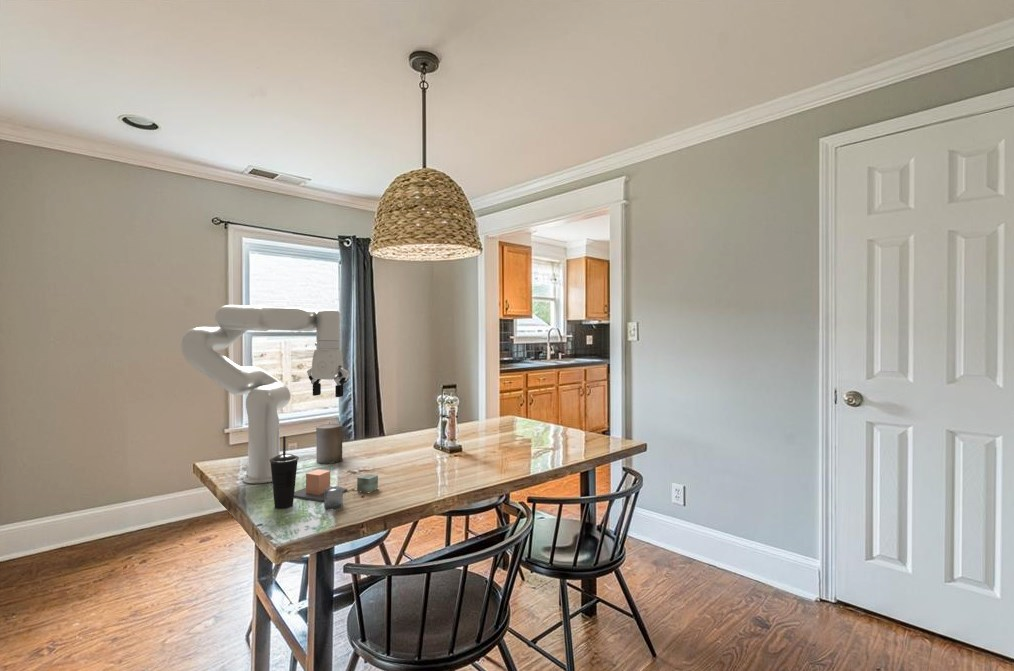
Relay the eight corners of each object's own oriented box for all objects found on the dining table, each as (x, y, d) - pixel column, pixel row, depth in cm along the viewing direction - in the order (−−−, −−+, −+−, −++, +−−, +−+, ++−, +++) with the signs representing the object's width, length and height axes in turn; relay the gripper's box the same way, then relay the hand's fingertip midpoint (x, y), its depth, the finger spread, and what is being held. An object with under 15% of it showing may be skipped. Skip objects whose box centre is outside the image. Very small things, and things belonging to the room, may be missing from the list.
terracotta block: (305, 492, 149) (305, 473, 149) (317, 488, 153) (317, 469, 153) (318, 495, 147) (318, 475, 147) (330, 490, 151) (330, 471, 151)
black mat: (288, 496, 147) (288, 494, 147) (314, 485, 157) (314, 483, 157) (322, 502, 142) (322, 500, 142) (347, 490, 153) (347, 488, 153)
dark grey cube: (320, 508, 138) (320, 490, 138) (332, 502, 142) (332, 485, 142) (334, 510, 136) (334, 492, 136) (346, 504, 141) (346, 487, 141)
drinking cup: (302, 501, 143) (302, 433, 143) (292, 510, 135) (292, 439, 135) (276, 501, 143) (276, 433, 143) (264, 510, 135) (264, 439, 135)
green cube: (357, 491, 152) (357, 477, 152) (366, 487, 156) (366, 473, 156) (369, 493, 151) (369, 479, 151) (377, 489, 155) (377, 475, 155)
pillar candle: (346, 457, 193) (346, 420, 193) (335, 464, 183) (335, 424, 183) (323, 457, 194) (323, 419, 194) (311, 463, 184) (311, 424, 184)
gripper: (300, 345, 164) (299, 395, 164) (341, 346, 158) (340, 398, 158) (316, 345, 171) (315, 393, 171) (356, 346, 165) (355, 396, 165)
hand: (327, 396), depth 165 cm, fingers open, 9 cm apart
